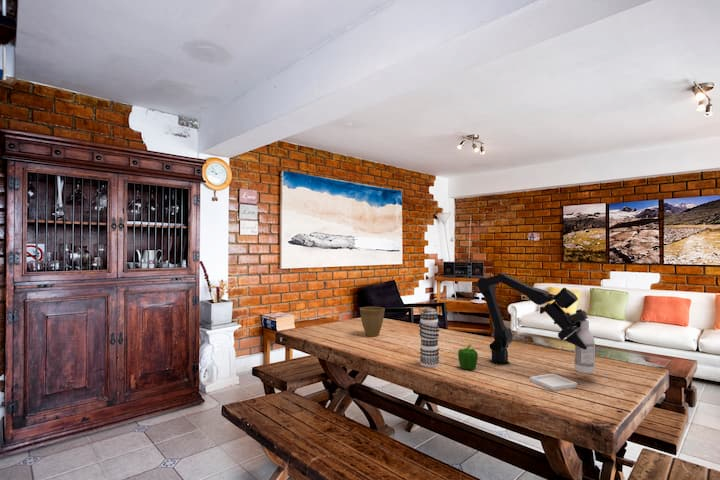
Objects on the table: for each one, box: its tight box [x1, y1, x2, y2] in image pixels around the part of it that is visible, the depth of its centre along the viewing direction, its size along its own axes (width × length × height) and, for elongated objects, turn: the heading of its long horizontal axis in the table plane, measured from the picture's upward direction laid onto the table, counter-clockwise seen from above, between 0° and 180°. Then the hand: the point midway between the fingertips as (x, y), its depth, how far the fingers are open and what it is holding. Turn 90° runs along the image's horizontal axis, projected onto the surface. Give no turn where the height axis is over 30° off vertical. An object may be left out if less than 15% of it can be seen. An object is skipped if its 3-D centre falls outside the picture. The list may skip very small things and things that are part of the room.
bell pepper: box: [457, 343, 479, 370], centre depth 175 cm, size 8×8×10 cm
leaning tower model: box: [418, 307, 441, 368], centre depth 181 cm, size 9×9×25 cm
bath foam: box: [574, 319, 596, 374], centre depth 159 cm, size 7×7×20 cm
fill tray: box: [529, 373, 578, 392], centre depth 154 cm, size 12×12×2 cm
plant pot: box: [359, 306, 386, 338], centre depth 237 cm, size 15×15×16 cm
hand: (588, 347), depth 158 cm, fingers closed on bath foam, 7 cm apart
